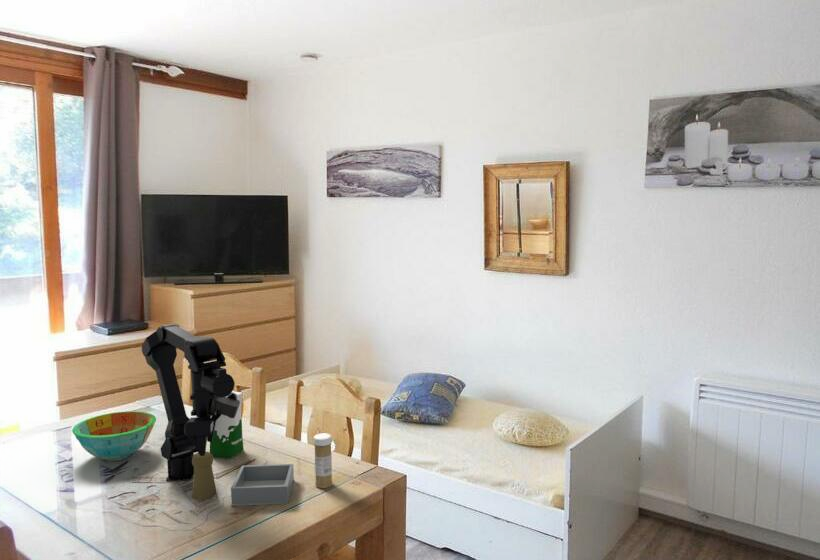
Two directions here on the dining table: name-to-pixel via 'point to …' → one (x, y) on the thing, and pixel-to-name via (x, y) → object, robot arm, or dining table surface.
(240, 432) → the milk carton
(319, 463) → the sprinkles bottle
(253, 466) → the box
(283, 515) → the dining table surface
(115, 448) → the bowl
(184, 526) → the dining table surface
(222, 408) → the robot arm
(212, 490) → the cork
